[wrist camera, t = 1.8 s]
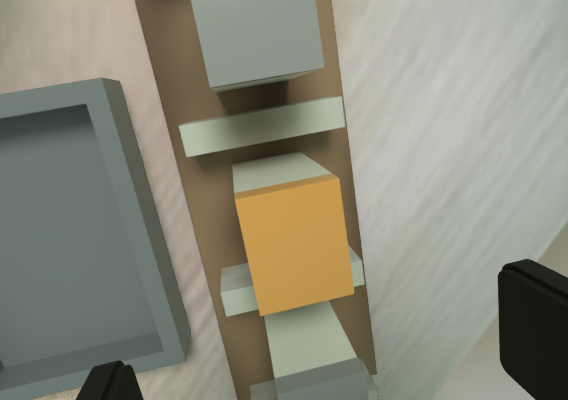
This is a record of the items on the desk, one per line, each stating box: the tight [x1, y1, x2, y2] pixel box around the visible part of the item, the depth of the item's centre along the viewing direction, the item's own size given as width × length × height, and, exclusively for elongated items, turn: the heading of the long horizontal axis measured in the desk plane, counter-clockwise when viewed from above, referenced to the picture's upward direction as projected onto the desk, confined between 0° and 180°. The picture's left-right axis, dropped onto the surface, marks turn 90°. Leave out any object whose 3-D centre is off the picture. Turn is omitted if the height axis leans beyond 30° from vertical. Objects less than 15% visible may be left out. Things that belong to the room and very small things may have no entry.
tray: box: [0, 78, 191, 400], centre depth 20 cm, size 12×16×3 cm
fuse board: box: [135, 0, 379, 400], centre depth 21 cm, size 10×29×4 cm, turn 10°
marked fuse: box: [232, 151, 354, 316], centre depth 18 cm, size 4×5×8 cm
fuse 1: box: [191, 0, 324, 93], centre depth 16 cm, size 4×5×8 cm
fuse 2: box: [264, 300, 369, 400], centre depth 21 cm, size 4×5×8 cm
